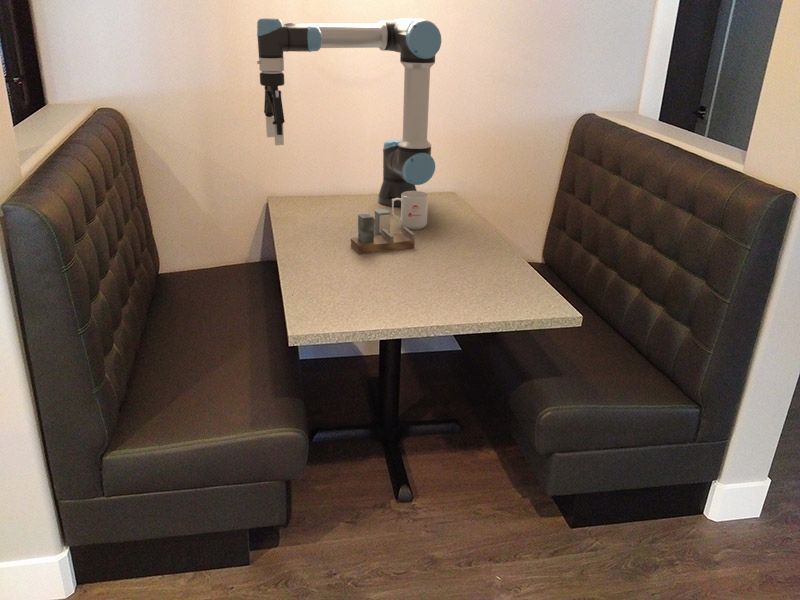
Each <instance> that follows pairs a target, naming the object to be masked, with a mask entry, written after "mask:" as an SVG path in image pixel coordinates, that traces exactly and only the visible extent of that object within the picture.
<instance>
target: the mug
mask: <svg viewBox="0 0 800 600" xmlns="http://www.w3.org/2000/svg"><path fill="white" fill-rule="evenodd" d="M395 200H400V201H401V206H400V217H399V216H398V215H397V214H395V206H394V201H395ZM428 202H429V194H428V193H427V192H424V191H421V190H420V191H419V190H417V191H406V192H403V193H402V194H401V198H395V199H392V206H391V208H392V209H391V210H392V211H391V212H392V215H393V217H394V218H395V219H397V220H398V221H399V222H400V225H401V226H402V227H406V228H407V229H409V230H421V229H424V228H425V227H426V226H427V224H428V206H429V203H428Z"/></svg>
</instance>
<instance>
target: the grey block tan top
mask: <svg viewBox="0 0 800 600" xmlns="http://www.w3.org/2000/svg"><path fill="white" fill-rule="evenodd" d="M374 218H375V236H377V235H381V229H385V230H387V231H388V232H389V233H390V234H391V211H389V210H388V209H376V210H374Z"/></svg>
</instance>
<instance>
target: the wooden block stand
mask: <svg viewBox="0 0 800 600" xmlns="http://www.w3.org/2000/svg"><path fill="white" fill-rule="evenodd" d="M357 224H358V225H357V228H358V229H357V233H358V234H357V237H351V238H350V247H352V249H354V250H355V252H357V253H358V255H363V253H365V254H372V252H374V253H380V251H381V252H382V251H383V252H388V251H389V252H391V251H398V250H399V251H400V250H406V249H407V250H408V249H415V244H416V243H415V239H416V237H415V235H416V234H415V233H414V232H413V231H412V230H411V229H407V228H406V227H403V226H402V227H401V232H397V233H391V232H390V233H389V232H388V231H387V230H385V229H381V235H377V236H376V235H375V216H373V215H372V214H370V213H361V214H359V213H358V215H357Z"/></svg>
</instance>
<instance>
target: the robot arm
mask: <svg viewBox="0 0 800 600" xmlns="http://www.w3.org/2000/svg"><path fill="white" fill-rule="evenodd" d="M256 22H257V25H256V29H257V30H256V31H257V32H256V36H257V49H258V51H257V52H258V60H257V61H256V63H257V65H258V67H259V68H258V69H259V84H260V86H263V87H264V103H263V104H264V109H263V113H264V115H265V126H266V127H265V128H266V138H274V145H275V146H284V145H285V141H284V140H285V139H284V135H285V134H284V124H285V121H286V120H285V117H284V116H285V115H284V108H283V100H282V90H279V87H280V86H281V87H282V86H284V85H285V74H284V71H285V62H284V61H285V58H284V52H303V53H305V52H308V53H311V52H318V51H320V49H347V48H348V49H349V48H350V49H354V48H355V49H356V48H358V49H359V48H366V49H367V48H368V49H370V48H376V49H377V48H378V49H379V50H380V51H381V52H382V51H383V52H385V51H386V52H387V51H389V52H390V51H391V52H396V53H400V54H399V55H400V59H399V62H400V63H401V64H402V66H403V68H404V72H403V73H404V74H403V75H404V78H403V79H404V80H403V81H404V82H403V111H402V112H403V113H402V114H403V115H402V139H389V140H386V141H384V142H383V149H382V152H383V153H382V155H383V156H382V158H383V159H382V160H383V161H382V164H383V165H382V168H383V169H382V176H383V177H382V183H381V186H380V189H379V193H378V196H377V197H378V203H379V204H381V205H384V206H389V207H392V199H395V198H401V194H402V193H403V192H406V191H418V190H417V187H416V186H420V185H425V184H426V183H427V182H429V181H430V180H431V179H432V178H433V176H434V174H435V171H436V162H435V159H434V158H433V156H432V144H431V143H430V142H429V140H428V128H429V127H428V126H429V107H430V106H429V103H430V102H429V101H430V80H431V79H430V78H431V68H432V67H433V66H434V65H436V64H435V63H436V55H437V54H438V52H439V51H440V49H441V46H442V33H441V30H439V28H438V27H437V25H436V24H435V23H434V22H432V21H430V20H427V19H426V18H412V17H405V18H399V19H391V20H380V21H379V22H378V23H292V22H291V23H289V22H288V23H287V22H286V23H285V24H283V22H282V20H281V18H259V19H258V20H257V21H256ZM394 207H401V201H400V200H395V201H394Z"/></svg>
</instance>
